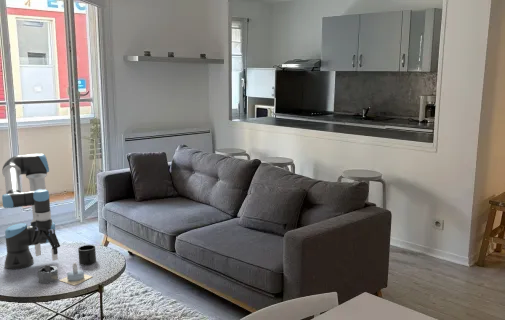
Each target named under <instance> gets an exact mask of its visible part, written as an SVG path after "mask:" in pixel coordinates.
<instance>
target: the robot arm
mask: <svg viewBox="0 0 505 320" xmlns="http://www.w3.org/2000/svg"><path fill="white" fill-rule="evenodd" d="M49 172H50V168H49V163H48V160H47V156H46V155H45V154H44V153H30V154H19V155H14V156H12V157H10V158H9V159H7V160H6V161H5V163H4V164H3V166H2V176H3V177H4V183H5V184H4V185H5V193H4V194H2V196H1V199H2V201H1V202H2V207H3V208H4V209H14V208H21V207H30V206H31V211H32V220H30V221H31V222H30V225H28V224H27V223H24V222H22V223H16V224H13V225H10V226H9V227H6V229H5V230H4V234H5V235H4V239H5V245H6V256H5V260H4V268H6V269H8V270H17V269H19V270H20V269H24V268H27V267H29V266H31V265H33V264H34V257H33V255H32V253H31V251H30V246H34V250H35V256H36V257H40V256H41V255H42V252H41V251H42V250H41V245H44V244H50V246H51V258H52V259H51V260H52V262H54V261H57V260H58V259H59V258H58V248H60V247H61V245H60V242H59V239H58V237H57V234H56V223H55V222H54V221H53V220H52V214H51V212H52V211H51V203H50V193H49V190H48V189H47V188H46V179H45V178H46V177H47V176H48V173H49ZM21 175H25V178H26V179H28V182H29V191H23V192H22V188H21V187H22V185H21V177H20V176H21Z"/></svg>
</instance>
